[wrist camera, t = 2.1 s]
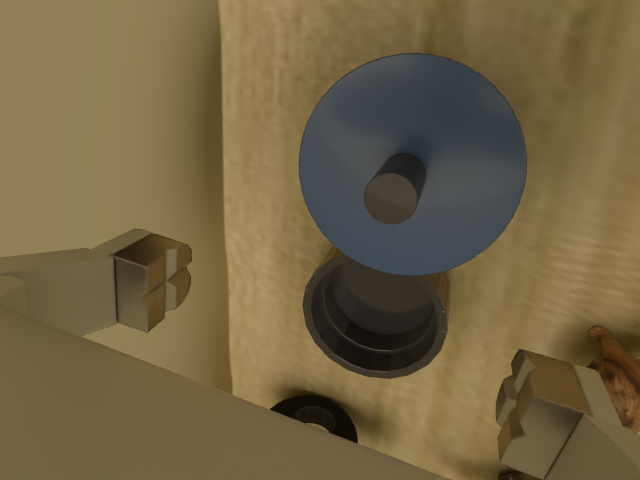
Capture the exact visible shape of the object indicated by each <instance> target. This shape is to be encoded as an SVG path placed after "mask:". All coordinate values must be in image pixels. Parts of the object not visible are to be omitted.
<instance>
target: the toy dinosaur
mask: <svg viewBox="0 0 640 480" xmlns="http://www.w3.org/2000/svg"><path fill="white" fill-rule="evenodd" d="M523 477H524V475H523V474H520V473H518V472H514V473H510V474H506V475H502V476H499V477H498V480H521V479H523Z"/></svg>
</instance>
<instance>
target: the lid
mask: <svg viewBox="0 0 640 480" xmlns="http://www.w3.org/2000/svg"><path fill="white" fill-rule="evenodd" d="M526 173H527V155H526V147H525V141H524V137H523V134H522V130H521V127H520V124H519V122H518V120H517V118H516V116H515V113H514V111H513V110H512V108H511V106H510V105H509V103H508V102H507V100H506V99H505V97H504V96H503V95H502V94H501V93H500V92H499V91H498V89H497V88H496V87H495V86H494V85H493V84H492V83H491V82H489V81H488V80H487V79H486V78H485V77H483V76H482V75H481V74H480V73H478V72H476V71H475V70H473V69H471V68H470V67H468V66H466V65H464V64H462V63H459V62H457V61H454V60H452V59H449V58H445V57H441V56H437V55H431V54H421V53H407V54H397V55H391V56H386V57H382V58H379V59H376V60H373V61H370V62H368V63H366V64H364V65H362V66H360V67H358V68H356V69H354V70H353V71H351V72H350V73H348V74H347V75H345V76H344V77H342V78H341V79H340V80H339V81H338V82H337V83H335V84H334V85H333V86H332V87H331V88H330V89H329V90H328V91H327V93H326V94H325V95H324V96H323V97H322V98H321V100H320V101H319V103H318V104H317V106H316V107H315V109H314V110H313V112H312V114H311V116H310V118H309V120H308V122H307V125H306V128H305V131H304V134H303V137H302V142H301V147H300V154H299V177H300V183H301V189H302V193H303V196H304V199H305V203H306V205H307V207H308V210H309V212H310V214H311V216H312V218H313V219H314V221H315V223H316V224H317V226H318V227H319V229H320V230H321V231H322V233H323V234H324V235H325V236H326V237H327V239H328V240H329V241H330V242H331V243H332V244H333V245H334V246H335V247H337V248H338V249H339V250H340V251H342V252H343V253H344V254H346V255H347V256H349V257H350V258H352V259H353V260H355V261H357V262H359V263H361V264H363V265H365V266H367V267H370V268H373V269H375V270H378V271H382V272H386V273H391V274H398V275H426V274H433V273H438V272H442V271H446V270H449V269H451V268H454V267H457V266H459V265H461V264H463V263H465V262H467V261H469V260H471V259H473V258H474V257H476V256H477V255H479V254H480V253H481V252H483V251H484V250H485V249H487V248H488V247H489V246H490V245H491V244H492V243H493V242H494V241H495V240H496V239H497V238H498V237H499V236H500V235H501V233H502V232H503V231H504V230H505V228H506V227H507V225H508V224H509V222H510V221H511V219H512V218H513V216H514V214H515V212H516V210H517V207H518V205H519V203H520V200H521V197H522V194H523V190H524V186H525V180H526Z"/></svg>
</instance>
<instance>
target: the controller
mask: <svg viewBox="0 0 640 480" xmlns="http://www.w3.org/2000/svg"><path fill="white" fill-rule="evenodd" d="M270 410H272V411H274V412H277V413H280V414H282V415H285V416H287V417H290V418H293V419H295V420H298V421H300V422H303V423H315V424H319V425H321V426H323V427H324V428H326V429H327V430H328V431H329V432H330V433H331V434H334V435H337V436H339V437H342V438H344V439H347V440H349V441H352V442H355V443H357V444H358V438H357V432H356V428H355V425H354V424H353V422H352V420H351V418H350V417H349V416H348V414H347V413H346V412H345V411H344V410H343V409H342V408H340V407H339V406H338V405H336V404H334V403H333V402H331V401H329V400H326V399H323V398H320V397H315V396H296V397H292V398H288V399H286V400H283V401H281V402H279V403H278V404H276V405H275V406H273V407H272V408H271V409H270Z"/></svg>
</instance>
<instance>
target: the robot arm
mask: <svg viewBox="0 0 640 480" xmlns="http://www.w3.org/2000/svg"><path fill="white" fill-rule="evenodd" d="M191 255H192V250H191V248H190V247H189V245H187V244H184V243H181V242H178V241H175V240H172V239H169V238H166V237H163V236H160V235H157V234H154V233H152V232H148V231H145V230H142V229H136V228H135V229H132V230H130V231H128V232H126V233H124V234H122V235H120V236H118V237H116V238H114V239H111V240H110V241H107V242H105V243H103V244H101V245H99V246H97V247H95V248H93V249H91V250H90V249H87V248H80V249H72V250H63V251H54V252H45V253H37V254H28V255H19V256H11V257H1V258H0V480H450V479H448V478H445V477H443V476H440V475H437V474H435V473H432V472H430V471H427V470H425V469H422V468H419V467H417V466H414V465H412V464H409V463H406V462H404V461H401V460H399V459H396V458H393V457H391V456H388V455H386V454H383V453H381V452H378V451H375V450H373V449H370V448H368V447H365V446H362V445H360V444H357V443H355V442H352V441H349V440H347V439H344V438H342V437H339V436H337V435H334V434H331V433H329V432H326V431H324V430H321V429H318V428H316V427H313V426H311V425H308V424H306V423H303V422H300V421H298V420H295V419H293V418H290V417H287V416H285V415H282V414H280V413H277V412H274V411H272V410H269V409H267V408H264V407H262V406H259V405H256V404H254V403H251V402H249V401H246V400H243V399H241V398H238V397H236V396H233V395H231V394H228V393H225V392H223V391H220V390H217V389H215V388H212V387H210V386H207V385H205V384H202V383H200V382H197V381H194V380H192V379H189V378H186V377H184V376H181V375H179V374H176V373H174V372H171V371H169V370H166V369H163V368H161V367H158V366H156V365H153V364H150V363H148V362H145V361H143V360H140V359H138V358H135V357H132V356H130V355H127V354H125V353H122V352H119V351H117V350H114V349H111V348H109V347H107V346H104V345H101V344H99V343H96V342H94V341H91V340H88V339H86V338H83V337H81V336H84V335H87V334H90V333H93V332H95V331H98V330H101V329H104V328H107V327H110V326H113V325H116V324H117V323H120V324H123V325H126V326H129V327H132V328H135V329H138V330H141V331H144V332H149V331H150V330H151V329H152V328H153V327H155V326H156V325H157V324H158V323H159V322H161V321H162V320H163V319H164V318H165V312H166V311H170V310H173V309H176V308H177V307H178V306H180V305H181V304H182V303H183V301H184V299H185V298H186V296H187V294H188V292H189V288H190V284H191V275H190V273H189V272H188V270H187V268H186V266H187V265H188V264H189V263H190V262H191V261H192V256H191ZM511 366H512V373H513V375H511V376H509V377H507V378H505V379H504V380H503V383H502V385H501V387H500V390H499V393H498V397H497V402H496V422H497V423H498V424H499V425H500V427H501V428H502V429H501V431H500V433H499V435H498V448H499V458H500V463H501V464H504V465H506V466H509V467H511V468H514V469H516V470H519V471H521V472H524V473H526V474H529V475H531V476H534V477H536V478H539V479H541V480H640V437H639V436H638V435H637V434H636V433H635V432H634V431H633V430H632V429H629V428H626V427H623V426H622V424H621V421H620V419H619V417H618V415H617V412H616V410H615V408H614V406H613V403H612V401H611V399H610V397H609V394H608V392H607V390H606V388H605V385H604V383H603V381H602V379H601V376H600V374H599V373H598V372H597V371H596V370H594V369H590V368H586V367H583V366H579V365H575V364H572V363H568V362H565V361H561V360H558V359H554V358H551V357H547V356H544V355H540V354H537V353H533V352H530V351H526V350H523V349H519V350H518V352H517V353H516V354H515V356H514V358H513V360H512V363H511Z"/></svg>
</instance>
